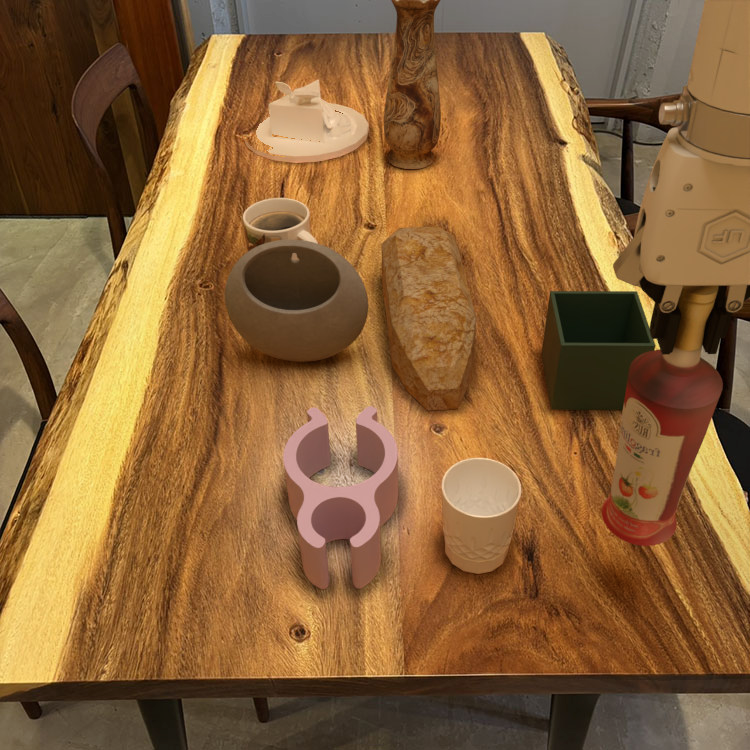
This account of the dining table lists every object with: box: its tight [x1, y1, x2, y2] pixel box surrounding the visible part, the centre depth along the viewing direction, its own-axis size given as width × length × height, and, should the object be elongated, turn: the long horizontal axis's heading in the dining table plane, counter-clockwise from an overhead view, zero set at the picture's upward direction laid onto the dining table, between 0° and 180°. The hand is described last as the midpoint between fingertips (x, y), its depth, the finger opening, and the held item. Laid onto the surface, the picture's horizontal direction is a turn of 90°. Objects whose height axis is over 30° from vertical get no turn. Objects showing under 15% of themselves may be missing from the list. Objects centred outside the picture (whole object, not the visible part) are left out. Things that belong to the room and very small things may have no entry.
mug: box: [242, 197, 319, 260], centre depth 125 cm, size 10×12×11 cm
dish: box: [242, 79, 370, 164], centre depth 163 cm, size 25×25×11 cm
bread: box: [380, 225, 477, 411], centre depth 116 cm, size 36×11×10 cm, turn 4°
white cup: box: [441, 457, 522, 575], centre depth 86 cm, size 8×8×10 cm
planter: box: [224, 240, 369, 363], centre depth 108 cm, size 18×7×19 cm, turn 88°
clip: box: [282, 405, 399, 590], centre depth 92 cm, size 20×12×7 cm, turn 0°
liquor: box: [601, 286, 724, 547], centre depth 71 cm, size 7×7×28 cm
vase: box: [383, 0, 442, 170], centre depth 148 cm, size 10×11×30 cm
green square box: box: [540, 290, 656, 411], centre depth 106 cm, size 11×11×10 cm
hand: (684, 341), depth 66 cm, fingers closed on liquor, 2 cm apart
